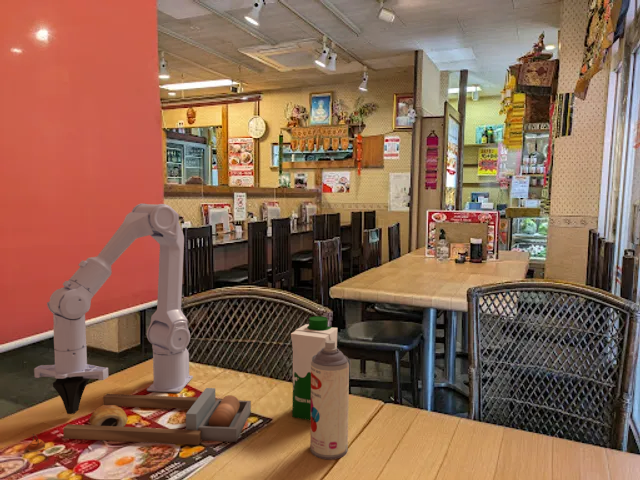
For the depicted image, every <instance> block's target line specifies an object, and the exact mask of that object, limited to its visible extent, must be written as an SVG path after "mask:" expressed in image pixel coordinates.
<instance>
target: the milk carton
mask: <svg viewBox="0 0 640 480" xmlns="http://www.w3.org/2000/svg"><path fill="white" fill-rule="evenodd" d="M328 321H329V319H328V317H326V316H323V315H321V316H320V315H319V316H318V315H316V316H311V317H309V318H308V324H307V323H305V324H304V325H302V326H300V327H299V328H298V327H297V328H296V329H295V330H294V331H293V332H291V333H290V338H291V344H292V405H291V406H292V410H291V411H292V412H291V413H292V418H295V419H302V420H307V421H311V362H312V357H313V356H314V355H316V354H317V353H318V352H319V351H320V350H321V349H322V348H323V347H325V342H326V341H328V340H332V341H335V347H337V346H338V327H332V326H328V325H329V323H328ZM337 348H338V347H337Z"/></svg>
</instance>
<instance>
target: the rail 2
mask: <svg viewBox="0 0 640 480" xmlns="http://www.w3.org/2000/svg"><path fill="white" fill-rule="evenodd" d="M62 429H63V439H72V440H73V439H75V440H89V441H90V440H91V441H92V440H94V441H112V442H114V441H115V442H134V443H153V444H154V443H157V444H172V445H174V444H175V445H193V446H194V445H195V446H199V445H200V444H201V442H202V440H201V430H186V429H180V428H177V429H176V428H161V427H160V428H156V427H140V426H139V427H133V426H124V427H117V426H96V425H91V424H73V423H72V424H71V423H68V424H67V425H65V426H64V427H63V428H62Z"/></svg>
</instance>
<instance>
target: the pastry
mask: <svg viewBox="0 0 640 480" xmlns="http://www.w3.org/2000/svg"><path fill="white" fill-rule="evenodd" d="M127 416H128V415H127V414H126V412H125V410H124V409H122V407H120V406H116V405H104V404H103V405H100V406H99V407H97V408H95V409H94V410H93V411H92V413H91V416H90V417H89V421H88V422H89V425H96V426H117V427H126V426H127V425H126V424H127V422H128V417H127Z"/></svg>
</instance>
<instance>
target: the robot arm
mask: <svg viewBox="0 0 640 480" xmlns="http://www.w3.org/2000/svg"><path fill="white" fill-rule="evenodd" d="M179 218H180V214H179V213H178V212H177V211H176V210H175V209H174V208H173V207H171V205H169V204H165V203H159V204H152V203H150V204H149V203H148V204H147V203H139V204H136V205H135V206H134V207H133V208H132V209H131V211H130V212H128V213H127V214H126V215H125V217H124V220H123V221H122V223H121V225H120V226H119V227H118V229H117V230H116V231H115V233H113V235H112V236H111V238H110V239H109V240H108V242H107V243H106V244H105V245H104V247H103V248H102V250H101V251H99V253H98V254H97V255H95V256H91V257H90V256H89V257H87V258H86V259H85V260H81V261H80V262H79V263H78V267H79V268H78V269H77V270H76V271H75V272H74V273H73V275H72V276H71V277H69V279H68V280H65V281H64V282H63V283H62V286H63V287H60V288H57V289H55V291H53V292H52V294H51V295H50V297H49V301H48V302H46V305H47V308H48V310H49V312H51V313H52V314H53V315H52V316H53V318H52V319H53V320H52V321H53V327H52V329H53V348H54V351H53V352H54V364H45V365H44V364H41V365H38V366H36V367H35V368H33V373H34V378H37V379H39V378H42V377H46V378H48V377H49V378H55V381H54V382H52V387H53V389H54V390H55V391H56V392H57V394H58V395H59V397H60V399H61V401H62V404H63V406H64V408H65V411H66V412H65V413H66V414H67V415H74V414H75V413H77V412H78V411H79V410H80V405H81V400H82V398H83V394H84V390H85V389H86V387H87V385H88V382H89V380H90V379H91V380H92V379H95V380H97V379H98V381H104V380H106V379H107V378H109V367H103V366H97V365H94V364H89V363H88V358H87V356H88V355H87V328H86V326H87V325H86V313H88V312H89V311H90V309H91V305H92V302H91V301H92V299H93V297H94V296H95V295H96V294H97V293H98V292H99V290H100V289H101V288H102V287H103V286H104V284H105V283H106V282H107V280H108V279H109V278H110V277H111V276H112V272H113V271H112V270H113V269H112V265H114V263H115V262H116V261H117V260H118V259H119V258H120V257H121V256H122V254H123V253H124V252H126V250H127V249H128V248H129V247H130V246H131V245H133V243H134V242H135V241H136V240H137V239H139V238H143V237H147V236H150V237H151V238H152V239H153V240H155V241H156V242H157V243H158V244H159V254H158V255H159V257H158V279H157V281H158V282H157V300H156V301H157V302H156V303H157V304H156V307H157V308H156V310H155V312H153V314H151V316H150V323H149V325H148V328H147V330H146V338H147V341H148V342H149V343H150V344H151V346H152V347H151V348H152V364H153V365H152V368H153V369H152V370H153V371H152V372H153V373H152V374H153V383H152V384H150V386H149V387H147V388H146V391H147V392H158V393H159V392H161V393H162V392H163V393H180V392H182V390H183V389H184V388H185V387H186V386H187V385H188V383H190V381H192V379H193V378H194V375H190V353H189V350H188V349H187V347H188V345H189V344H190V341H191V333H190V330H189V326H188V321H189V320H188V319H187V317H186V316H185V314H184V312H183V311H182V295H183V273H184V272H183V271H184V270H183V268H184V253H185V252H184V251H185V250H184V249H185V248H184V247H185V235H184V232H183V230H182V228H181V224H180V222H179V221H180V220H179Z"/></svg>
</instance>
